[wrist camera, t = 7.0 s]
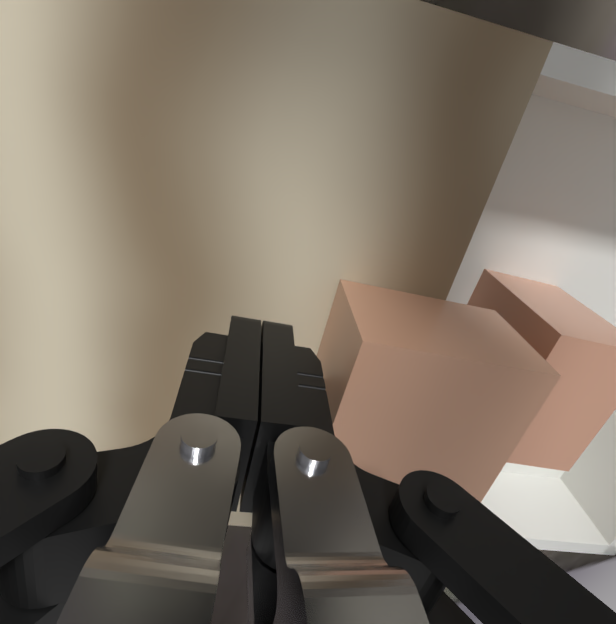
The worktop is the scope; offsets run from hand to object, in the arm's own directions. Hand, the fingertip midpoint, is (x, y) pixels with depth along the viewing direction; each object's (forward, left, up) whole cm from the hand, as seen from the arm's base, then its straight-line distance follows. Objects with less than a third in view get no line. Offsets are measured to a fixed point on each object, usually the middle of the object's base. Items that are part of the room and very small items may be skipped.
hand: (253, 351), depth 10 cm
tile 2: (-8, 0, -2) cm, 8 cm away
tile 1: (-4, 0, -1) cm, 4 cm away
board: (+2, 0, -5) cm, 6 cm away
